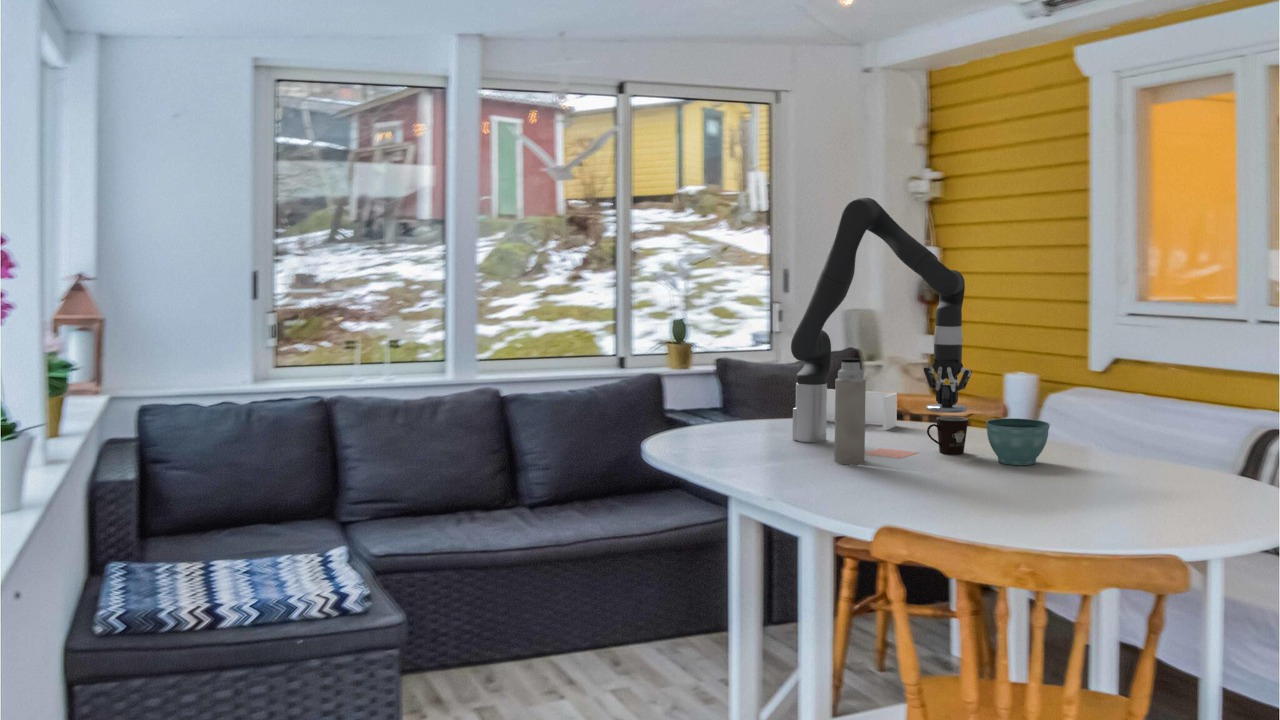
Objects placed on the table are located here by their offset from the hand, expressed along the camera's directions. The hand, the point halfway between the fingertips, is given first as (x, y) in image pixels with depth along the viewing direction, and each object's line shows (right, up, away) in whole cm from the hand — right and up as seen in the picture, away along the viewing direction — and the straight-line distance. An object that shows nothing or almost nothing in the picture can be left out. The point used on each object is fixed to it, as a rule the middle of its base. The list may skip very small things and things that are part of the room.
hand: (946, 404), depth 319 cm
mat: (-16, -14, +1) cm, 21 cm away
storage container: (-16, -9, +56) cm, 59 cm away
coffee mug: (0, -14, +1) cm, 14 cm away
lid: (0, -2, 0) cm, 2 cm away
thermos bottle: (-29, -15, -10) cm, 34 cm away
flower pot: (+15, -15, -12) cm, 25 cm away
